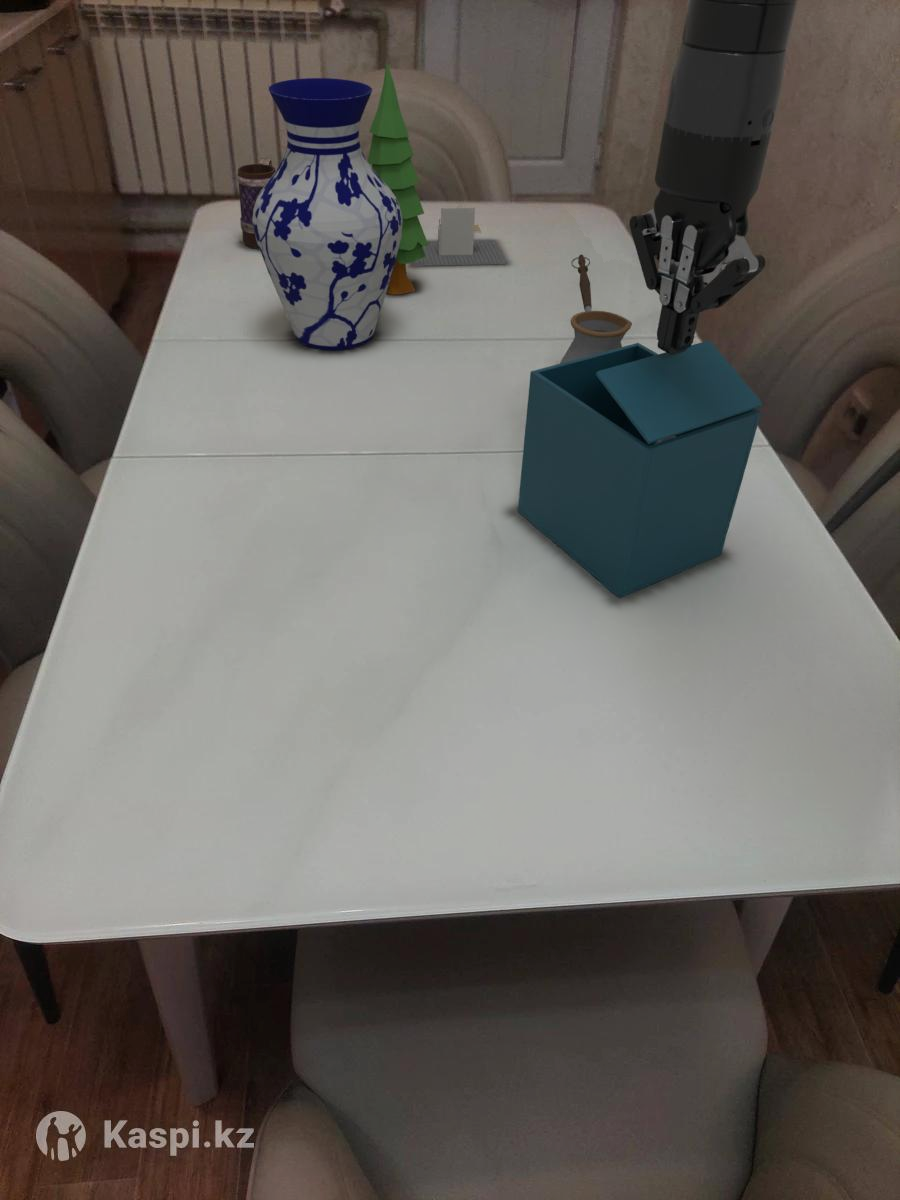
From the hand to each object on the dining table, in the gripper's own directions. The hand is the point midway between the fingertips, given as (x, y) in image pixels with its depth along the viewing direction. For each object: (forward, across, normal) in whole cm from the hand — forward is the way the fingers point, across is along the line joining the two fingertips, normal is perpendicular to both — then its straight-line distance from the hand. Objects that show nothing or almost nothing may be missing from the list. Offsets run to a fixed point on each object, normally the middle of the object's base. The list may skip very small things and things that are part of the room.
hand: (672, 349), depth 74 cm
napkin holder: (+21, -78, +29) cm, 86 cm away
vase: (+20, -59, -3) cm, 62 cm away
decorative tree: (+21, -69, +13) cm, 73 cm away
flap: (+3, +2, 0) cm, 3 cm away
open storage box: (+20, -2, 0) cm, 21 cm away
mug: (+21, -99, +4) cm, 101 cm away
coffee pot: (+21, -25, +13) cm, 35 cm away
